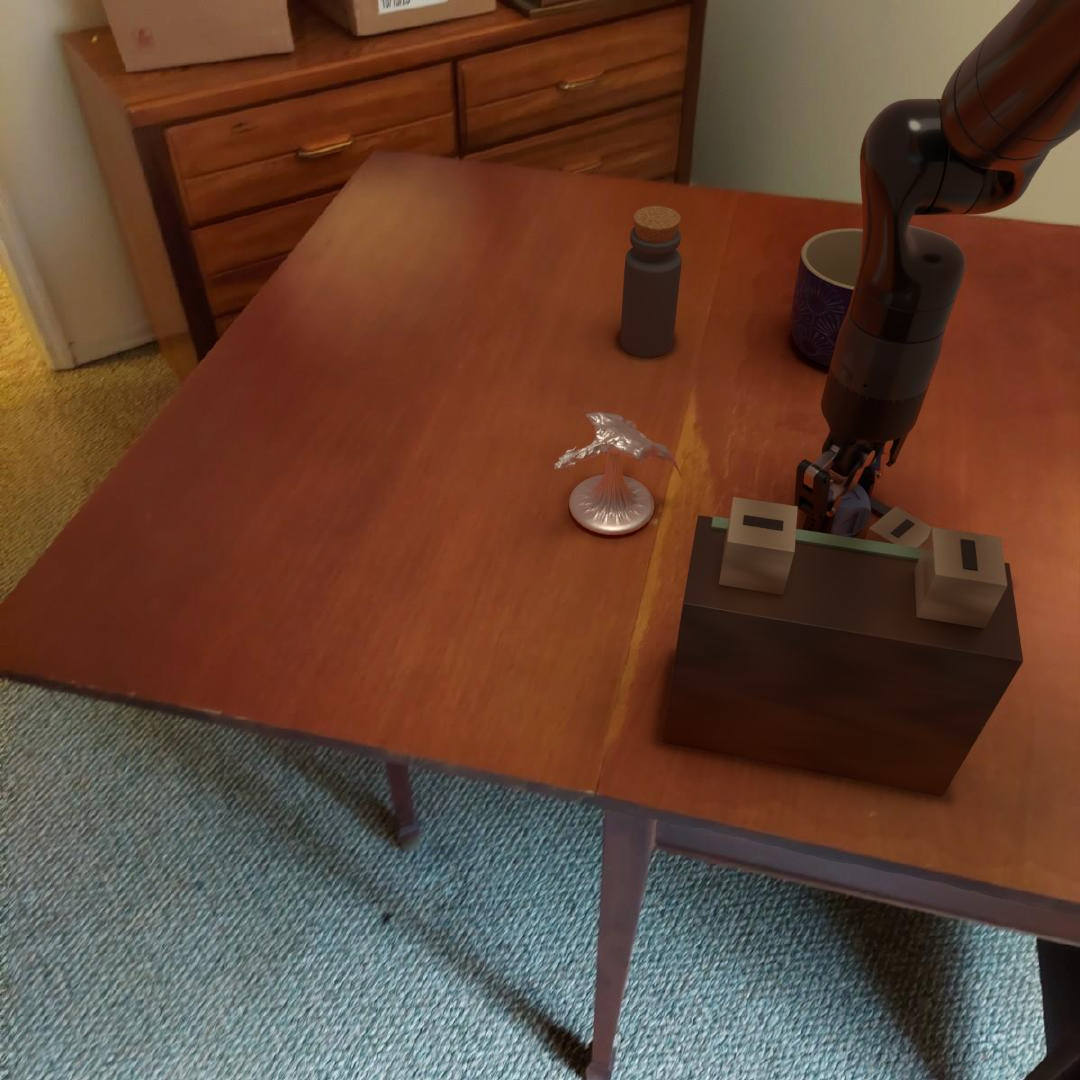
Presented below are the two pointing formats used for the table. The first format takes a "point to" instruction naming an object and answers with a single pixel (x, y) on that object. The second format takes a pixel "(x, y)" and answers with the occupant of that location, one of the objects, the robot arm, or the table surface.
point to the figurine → (613, 477)
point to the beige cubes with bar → (896, 526)
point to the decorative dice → (851, 512)
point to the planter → (824, 291)
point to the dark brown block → (841, 648)
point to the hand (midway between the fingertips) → (834, 521)
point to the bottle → (651, 283)
